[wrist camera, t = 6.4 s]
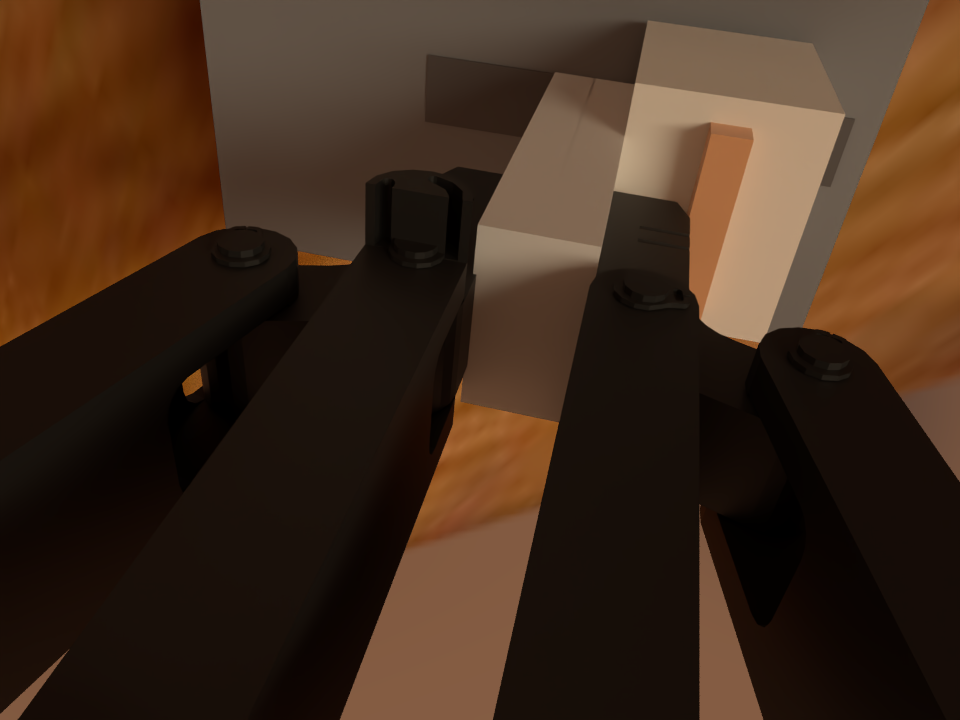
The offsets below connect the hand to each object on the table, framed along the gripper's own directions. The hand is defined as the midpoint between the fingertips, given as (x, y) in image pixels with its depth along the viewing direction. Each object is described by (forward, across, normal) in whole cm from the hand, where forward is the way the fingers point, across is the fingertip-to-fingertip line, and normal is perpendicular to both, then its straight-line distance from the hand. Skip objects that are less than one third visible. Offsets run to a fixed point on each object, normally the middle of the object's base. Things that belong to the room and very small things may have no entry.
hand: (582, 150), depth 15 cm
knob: (+1, +2, 0) cm, 3 cm away
